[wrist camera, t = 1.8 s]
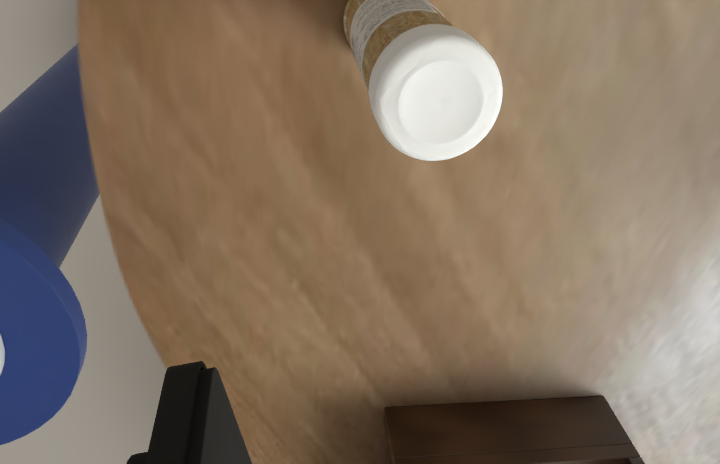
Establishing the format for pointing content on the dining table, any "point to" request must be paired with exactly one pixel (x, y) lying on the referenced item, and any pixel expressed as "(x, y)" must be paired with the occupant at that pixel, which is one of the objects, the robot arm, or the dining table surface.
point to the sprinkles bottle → (423, 77)
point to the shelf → (509, 433)
